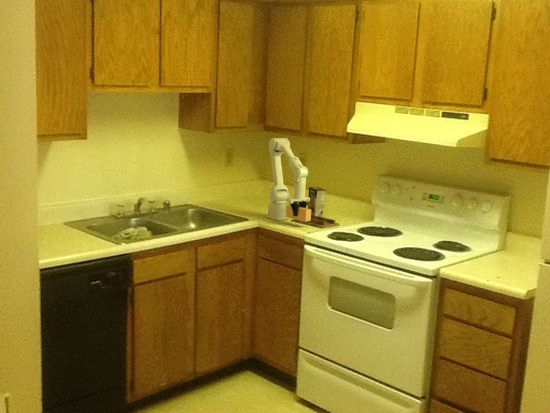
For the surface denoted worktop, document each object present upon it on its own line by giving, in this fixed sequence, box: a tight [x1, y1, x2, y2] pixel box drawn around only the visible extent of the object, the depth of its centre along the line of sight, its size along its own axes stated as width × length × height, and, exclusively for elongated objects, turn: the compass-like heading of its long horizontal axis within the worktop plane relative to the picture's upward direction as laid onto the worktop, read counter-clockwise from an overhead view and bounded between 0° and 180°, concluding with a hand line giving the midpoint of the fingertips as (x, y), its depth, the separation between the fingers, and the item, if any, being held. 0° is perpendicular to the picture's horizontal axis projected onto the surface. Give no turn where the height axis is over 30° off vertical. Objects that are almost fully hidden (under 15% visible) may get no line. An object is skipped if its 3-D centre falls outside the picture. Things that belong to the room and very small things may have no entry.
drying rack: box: [291, 215, 341, 229], centre depth 382 cm, size 22×14×3 cm, turn 46°
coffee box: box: [307, 186, 327, 218], centre depth 400 cm, size 9×6×16 cm
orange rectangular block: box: [285, 204, 311, 222], centre depth 373 cm, size 14×4×6 cm, turn 46°
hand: (298, 215), depth 373 cm, fingers closed on orange rectangular block, 4 cm apart
